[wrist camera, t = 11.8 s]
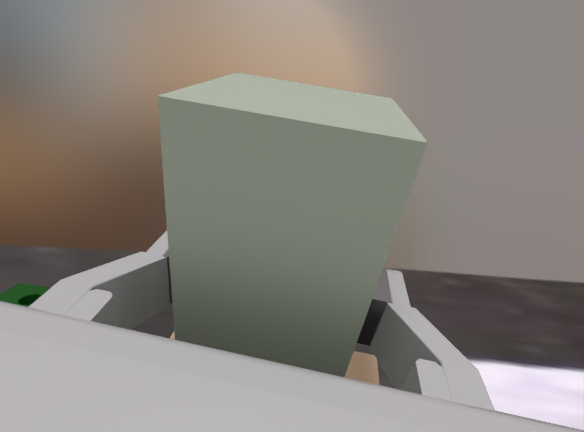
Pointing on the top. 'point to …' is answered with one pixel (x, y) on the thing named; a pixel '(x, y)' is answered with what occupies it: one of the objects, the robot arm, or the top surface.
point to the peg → (281, 213)
